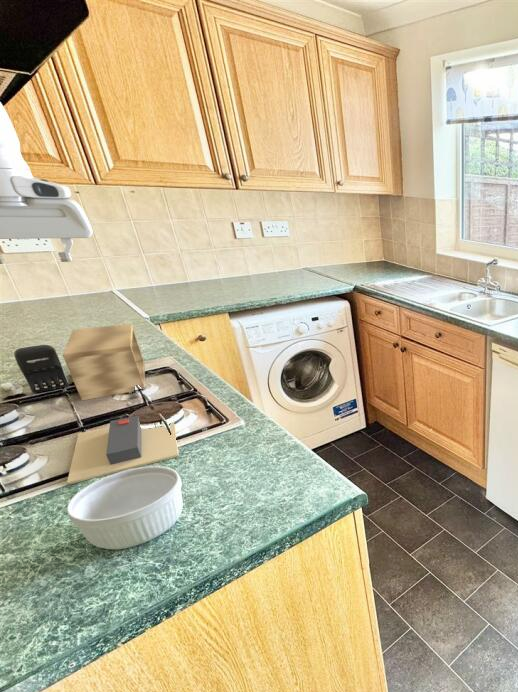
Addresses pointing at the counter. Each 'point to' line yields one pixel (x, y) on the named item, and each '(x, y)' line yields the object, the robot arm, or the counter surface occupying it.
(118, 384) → the wooden crate
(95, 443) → the mat
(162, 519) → the ramekin
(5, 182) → the robot arm
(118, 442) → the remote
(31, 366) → the battery charger
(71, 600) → the counter surface
